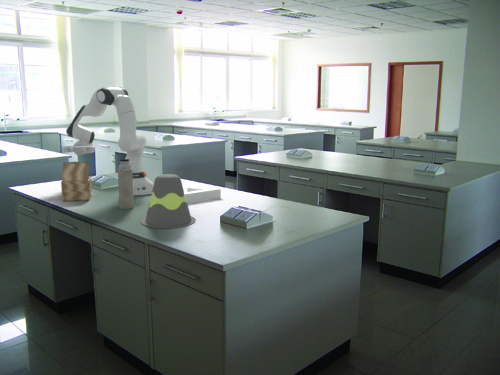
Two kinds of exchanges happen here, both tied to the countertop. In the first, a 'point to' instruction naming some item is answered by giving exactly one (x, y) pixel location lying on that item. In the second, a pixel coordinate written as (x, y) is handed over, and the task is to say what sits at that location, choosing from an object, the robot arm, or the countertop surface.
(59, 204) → the countertop surface
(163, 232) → the countertop surface
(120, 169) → the thermos bottle
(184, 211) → the grey tapered cylinder
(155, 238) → the countertop surface
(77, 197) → the carton
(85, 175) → the carton flap
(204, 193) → the triangular ruler
